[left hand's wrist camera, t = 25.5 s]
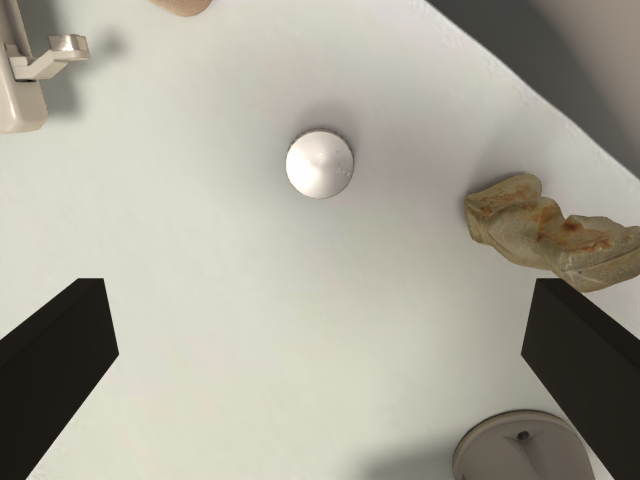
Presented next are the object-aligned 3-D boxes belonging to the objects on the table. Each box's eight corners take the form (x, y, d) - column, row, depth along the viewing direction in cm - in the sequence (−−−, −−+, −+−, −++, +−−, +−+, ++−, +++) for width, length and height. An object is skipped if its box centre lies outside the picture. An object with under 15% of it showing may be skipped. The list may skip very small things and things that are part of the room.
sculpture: (537, 220, 39) (658, 296, 25) (461, 240, 40) (539, 324, 26) (530, 162, 37) (658, 208, 23) (451, 183, 38) (529, 241, 24)
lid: (292, 197, 38) (290, 203, 36) (281, 132, 36) (279, 135, 34) (355, 189, 38) (357, 195, 36) (348, 123, 36) (350, 125, 34)
